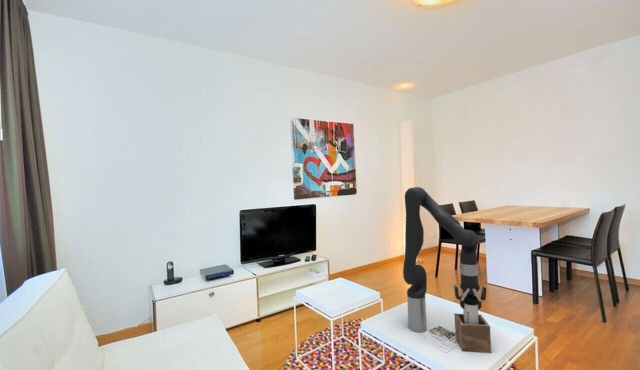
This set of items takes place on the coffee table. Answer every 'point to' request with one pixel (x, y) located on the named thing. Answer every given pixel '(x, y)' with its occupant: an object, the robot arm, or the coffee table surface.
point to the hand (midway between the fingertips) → (470, 308)
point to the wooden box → (473, 335)
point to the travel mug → (470, 310)
